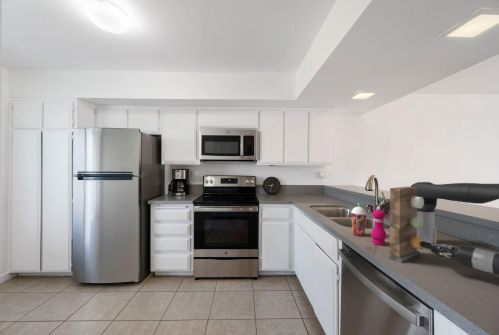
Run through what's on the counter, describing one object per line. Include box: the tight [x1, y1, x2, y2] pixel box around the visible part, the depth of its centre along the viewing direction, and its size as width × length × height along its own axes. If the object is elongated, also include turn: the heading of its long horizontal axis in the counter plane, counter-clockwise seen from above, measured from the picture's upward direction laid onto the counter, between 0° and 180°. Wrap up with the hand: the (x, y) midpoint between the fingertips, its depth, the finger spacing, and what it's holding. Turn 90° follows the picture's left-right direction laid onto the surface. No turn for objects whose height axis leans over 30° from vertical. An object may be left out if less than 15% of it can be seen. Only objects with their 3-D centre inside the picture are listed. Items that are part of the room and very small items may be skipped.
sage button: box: [410, 216, 424, 229], centre depth 95 cm, size 3×5×5 cm, turn 120°
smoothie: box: [350, 202, 367, 237], centre depth 131 cm, size 8×8×20 cm
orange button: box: [410, 236, 423, 250], centre depth 96 cm, size 3×5×5 cm, turn 120°
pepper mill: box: [370, 206, 387, 247], centre depth 116 cm, size 7×7×20 cm
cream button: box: [411, 196, 424, 208], centre depth 95 cm, size 3×5×5 cm, turn 120°
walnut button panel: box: [388, 186, 421, 263], centre depth 100 cm, size 5×17×32 cm, turn 120°
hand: (421, 243), depth 94 cm, fingers closed
